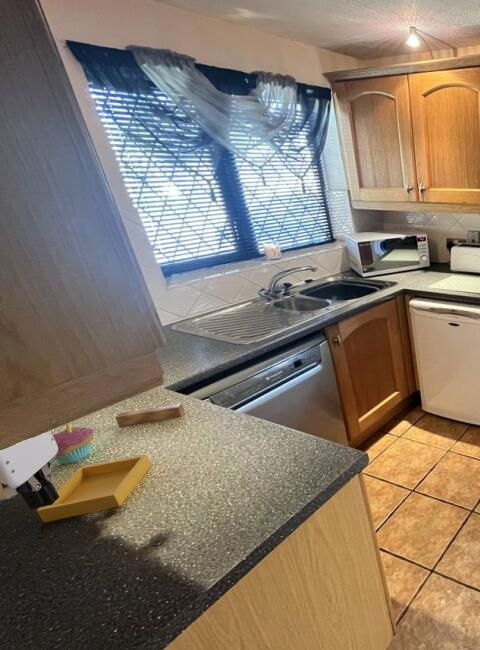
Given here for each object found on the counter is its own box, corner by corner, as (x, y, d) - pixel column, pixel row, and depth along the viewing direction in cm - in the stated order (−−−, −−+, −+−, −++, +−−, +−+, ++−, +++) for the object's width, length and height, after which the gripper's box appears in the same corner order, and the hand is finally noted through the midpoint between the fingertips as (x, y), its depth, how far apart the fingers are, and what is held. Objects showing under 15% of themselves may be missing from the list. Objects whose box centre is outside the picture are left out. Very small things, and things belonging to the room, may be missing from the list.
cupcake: (102, 440, 97) (83, 400, 93) (98, 458, 91) (76, 416, 86) (52, 456, 92) (29, 414, 87) (44, 476, 86) (18, 433, 81)
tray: (43, 522, 74) (36, 510, 73) (86, 477, 85) (80, 466, 84) (119, 506, 78) (114, 494, 77) (151, 465, 88) (146, 454, 87)
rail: (119, 426, 102) (114, 417, 101) (123, 422, 104) (119, 413, 103) (181, 416, 106) (178, 407, 105) (184, 412, 108) (181, 403, 106)
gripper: (3, 398, 68) (51, 478, 74) (-89, 455, 54) (-22, 546, 61) (57, 390, 70) (99, 469, 76) (-19, 443, 57) (39, 532, 63)
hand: (45, 503), depth 69 cm, fingers closed
